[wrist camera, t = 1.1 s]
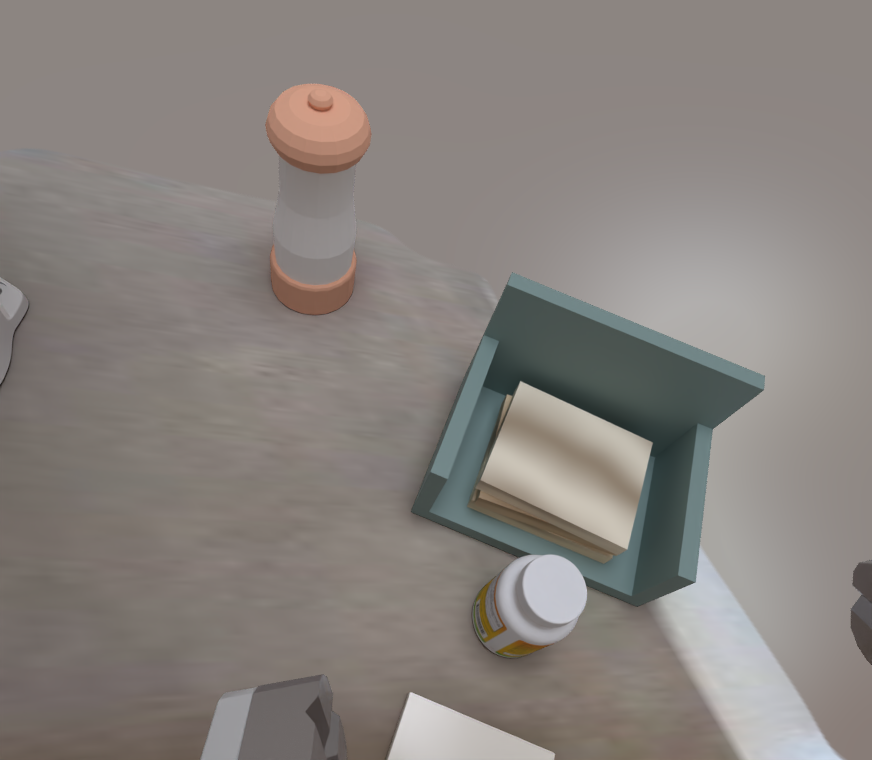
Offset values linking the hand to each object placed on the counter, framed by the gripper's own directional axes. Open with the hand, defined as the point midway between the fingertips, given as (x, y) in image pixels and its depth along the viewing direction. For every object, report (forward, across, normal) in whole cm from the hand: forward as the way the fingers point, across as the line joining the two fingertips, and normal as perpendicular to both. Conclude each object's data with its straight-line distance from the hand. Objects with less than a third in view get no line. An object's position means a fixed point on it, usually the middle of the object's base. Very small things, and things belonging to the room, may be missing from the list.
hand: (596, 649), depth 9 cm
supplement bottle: (+29, -1, +24) cm, 38 cm away
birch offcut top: (+33, -7, +16) cm, 38 cm away
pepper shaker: (+49, +10, +2) cm, 50 cm away
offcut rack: (+36, -6, +19) cm, 41 cm away
